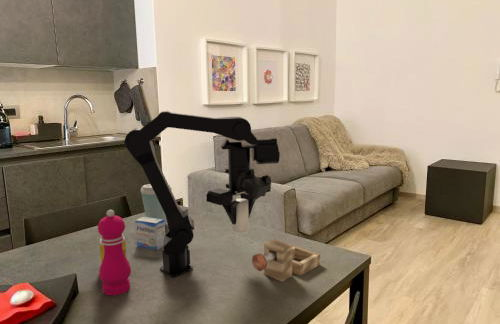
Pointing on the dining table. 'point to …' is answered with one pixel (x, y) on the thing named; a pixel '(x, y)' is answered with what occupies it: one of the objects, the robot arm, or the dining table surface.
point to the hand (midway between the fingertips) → (240, 222)
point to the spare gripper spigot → (241, 216)
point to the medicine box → (150, 233)
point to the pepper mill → (113, 256)
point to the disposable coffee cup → (152, 203)
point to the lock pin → (263, 260)
